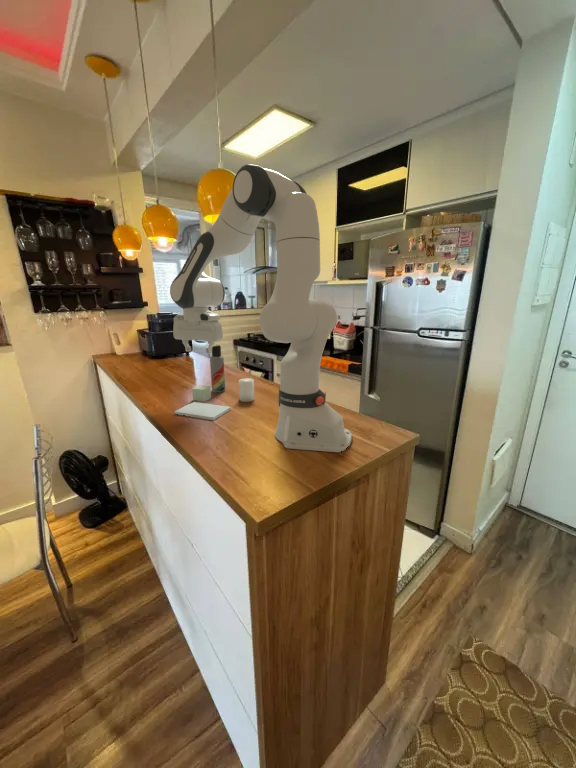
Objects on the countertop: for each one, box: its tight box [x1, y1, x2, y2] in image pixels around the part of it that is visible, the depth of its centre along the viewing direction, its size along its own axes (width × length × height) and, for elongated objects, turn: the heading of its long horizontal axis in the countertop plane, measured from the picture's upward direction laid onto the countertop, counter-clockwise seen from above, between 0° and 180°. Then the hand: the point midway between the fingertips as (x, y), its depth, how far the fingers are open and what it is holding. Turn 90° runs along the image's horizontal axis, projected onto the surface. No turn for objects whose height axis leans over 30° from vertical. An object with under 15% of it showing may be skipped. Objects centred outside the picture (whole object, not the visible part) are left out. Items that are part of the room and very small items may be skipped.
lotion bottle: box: [209, 344, 226, 393], centre depth 132 cm, size 6×6×20 cm
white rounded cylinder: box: [238, 377, 255, 403], centre depth 122 cm, size 6×6×8 cm
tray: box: [174, 401, 232, 421], centre depth 110 cm, size 16×11×1 cm
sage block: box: [191, 384, 212, 402], centre depth 123 cm, size 5×5×5 cm
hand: (198, 352), depth 119 cm, fingers open, 8 cm apart
